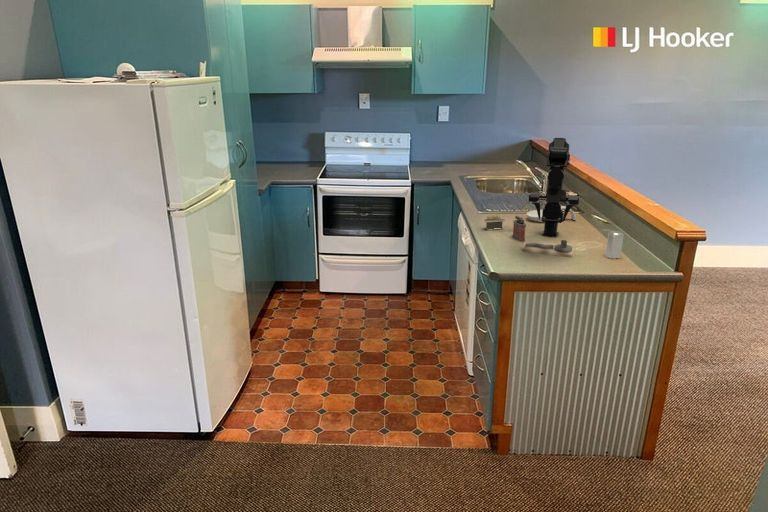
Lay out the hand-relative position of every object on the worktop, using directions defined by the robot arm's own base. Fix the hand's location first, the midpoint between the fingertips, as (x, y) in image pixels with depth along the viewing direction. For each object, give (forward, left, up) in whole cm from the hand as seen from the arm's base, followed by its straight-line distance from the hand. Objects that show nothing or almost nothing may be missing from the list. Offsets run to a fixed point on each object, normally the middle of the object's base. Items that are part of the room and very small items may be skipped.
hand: (551, 220), depth 218 cm
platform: (-27, -28, -15) cm, 42 cm away
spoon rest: (-52, -6, -15) cm, 54 cm away
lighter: (-16, -15, -15) cm, 26 cm away
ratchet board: (-5, -1, -14) cm, 15 cm away
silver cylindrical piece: (-7, +24, -14) cm, 29 cm away
